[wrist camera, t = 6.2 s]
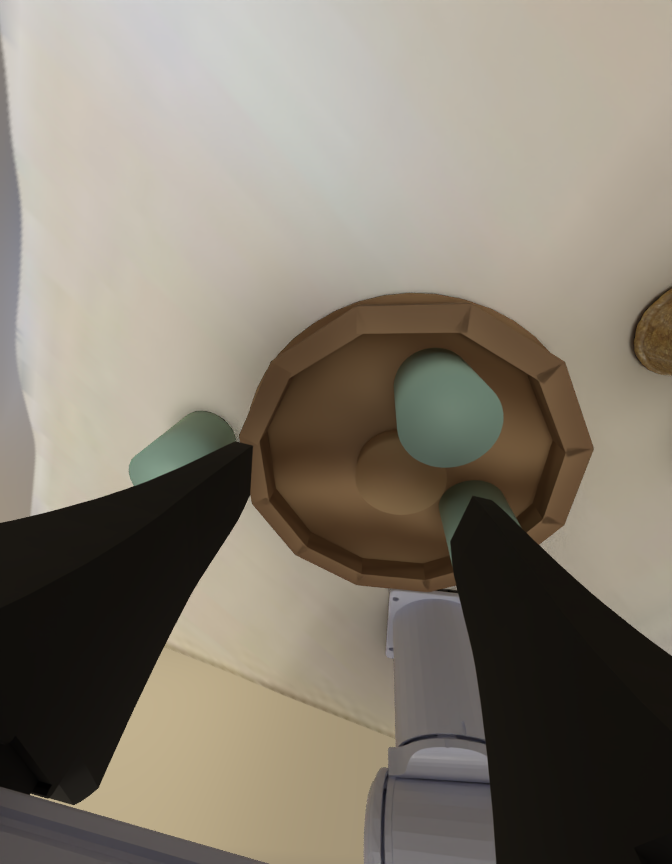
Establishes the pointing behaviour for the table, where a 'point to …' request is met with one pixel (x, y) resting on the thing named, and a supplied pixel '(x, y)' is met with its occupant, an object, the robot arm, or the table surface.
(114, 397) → the table surface
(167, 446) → the teal bead
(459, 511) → the seated bead
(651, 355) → the sprinkles bottle
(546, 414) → the groove tray
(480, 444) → the teal bead
